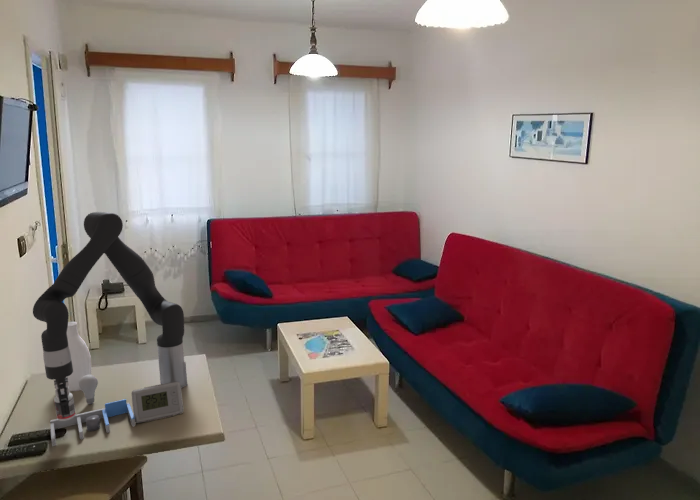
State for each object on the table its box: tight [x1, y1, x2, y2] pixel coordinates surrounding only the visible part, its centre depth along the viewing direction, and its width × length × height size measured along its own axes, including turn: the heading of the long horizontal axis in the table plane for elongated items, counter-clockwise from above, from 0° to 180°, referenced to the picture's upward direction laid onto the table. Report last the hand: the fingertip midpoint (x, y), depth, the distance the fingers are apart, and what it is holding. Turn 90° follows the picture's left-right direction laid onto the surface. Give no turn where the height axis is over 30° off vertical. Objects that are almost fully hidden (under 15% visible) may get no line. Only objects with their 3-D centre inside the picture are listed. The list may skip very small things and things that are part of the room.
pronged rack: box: [49, 398, 136, 447], centre depth 180 cm, size 24×12×5 cm, turn 120°
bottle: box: [66, 321, 93, 392], centre depth 208 cm, size 11×11×25 cm
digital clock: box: [131, 382, 185, 424], centre depth 187 cm, size 16×9×11 cm, turn 104°
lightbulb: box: [79, 374, 99, 405], centre depth 195 cm, size 6×6×11 cm
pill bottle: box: [53, 387, 77, 421], centre depth 174 cm, size 5×5×10 cm
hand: (65, 409), depth 175 cm, fingers closed on pill bottle, 5 cm apart
